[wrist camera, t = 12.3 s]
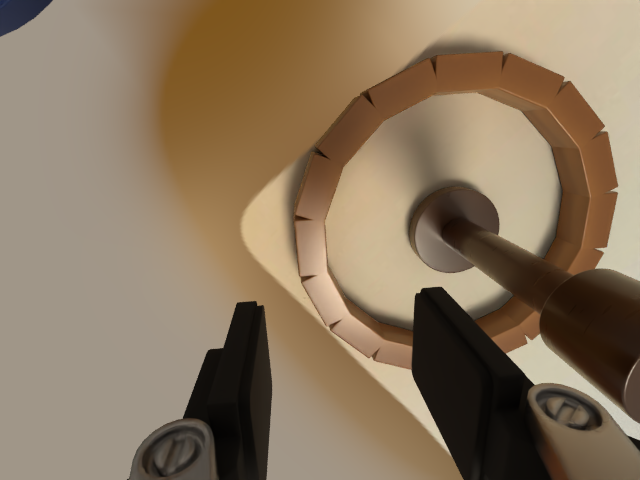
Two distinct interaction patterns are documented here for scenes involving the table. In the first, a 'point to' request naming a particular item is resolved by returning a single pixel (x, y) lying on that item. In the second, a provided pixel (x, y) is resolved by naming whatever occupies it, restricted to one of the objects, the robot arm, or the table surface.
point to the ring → (501, 85)
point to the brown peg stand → (541, 291)
